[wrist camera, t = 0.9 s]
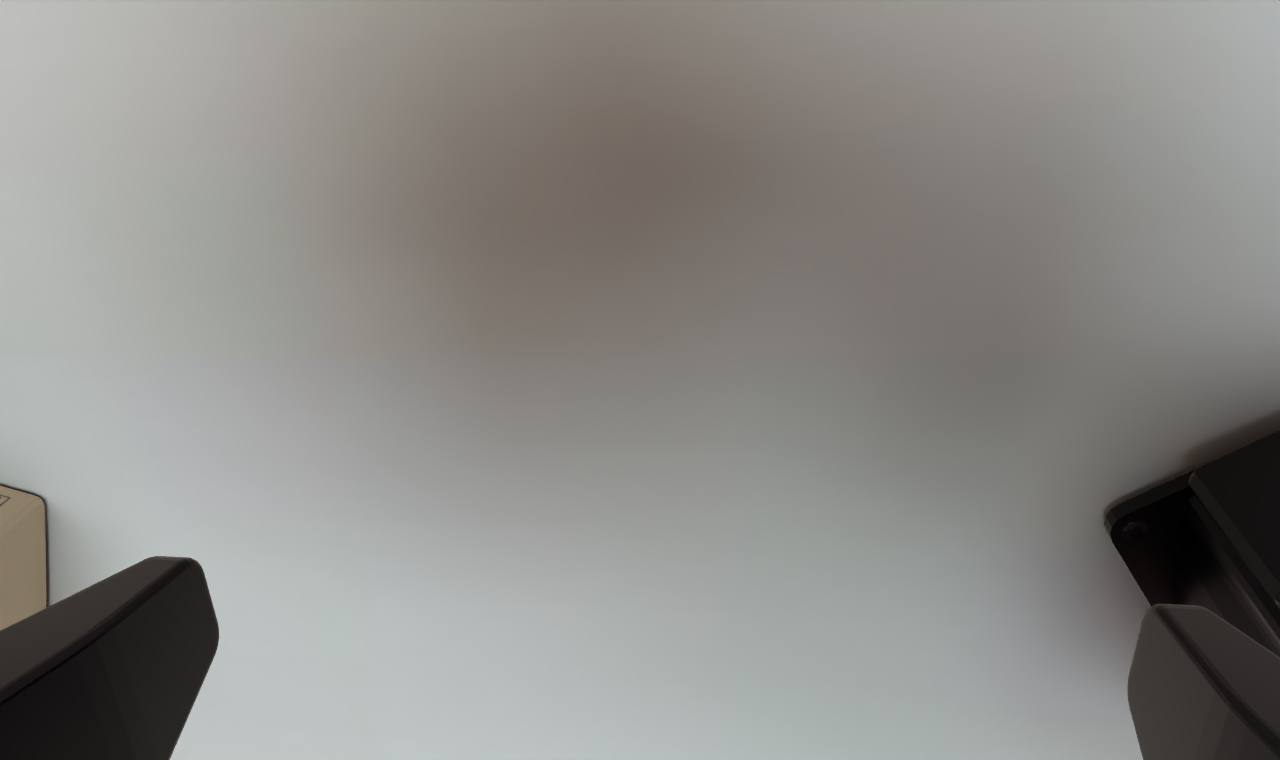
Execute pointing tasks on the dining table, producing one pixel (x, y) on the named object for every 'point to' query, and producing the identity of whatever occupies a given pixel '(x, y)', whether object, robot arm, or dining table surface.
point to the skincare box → (21, 556)
